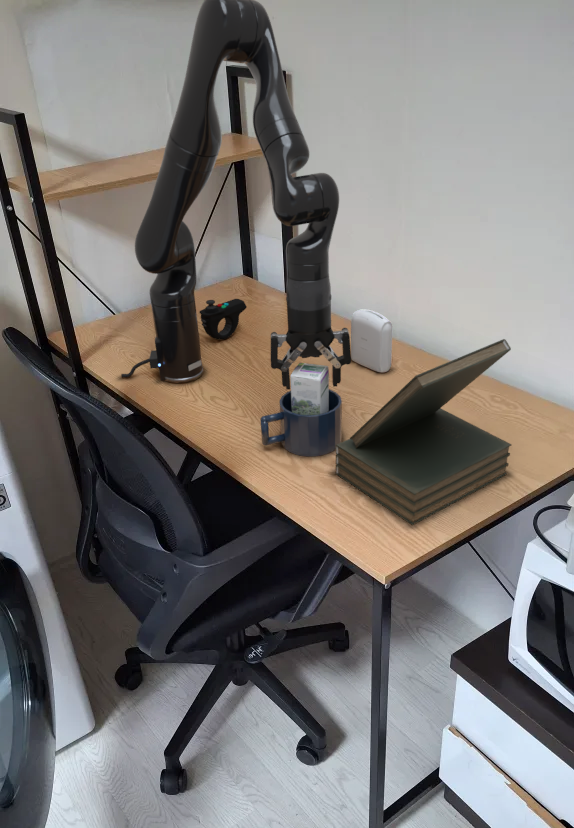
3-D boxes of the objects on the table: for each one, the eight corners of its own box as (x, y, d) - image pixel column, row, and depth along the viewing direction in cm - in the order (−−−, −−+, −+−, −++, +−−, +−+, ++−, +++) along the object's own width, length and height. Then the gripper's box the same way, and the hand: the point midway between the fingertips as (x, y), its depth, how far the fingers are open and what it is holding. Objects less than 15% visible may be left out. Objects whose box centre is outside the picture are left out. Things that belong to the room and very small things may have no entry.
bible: (427, 431, 150) (437, 306, 135) (507, 474, 137) (528, 342, 122) (335, 473, 139) (335, 343, 124) (412, 525, 126) (422, 386, 111)
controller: (199, 342, 187) (195, 302, 181) (239, 327, 193) (236, 287, 188) (210, 347, 184) (206, 307, 178) (250, 331, 191) (247, 292, 185)
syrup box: (330, 433, 150) (329, 364, 141) (321, 448, 145) (320, 378, 137) (301, 429, 151) (299, 360, 143) (292, 444, 147) (289, 374, 138)
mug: (326, 420, 154) (326, 381, 149) (351, 448, 146) (351, 407, 141) (252, 438, 150) (249, 398, 145) (273, 467, 142) (271, 426, 137)
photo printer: (347, 360, 176) (348, 308, 169) (361, 354, 178) (362, 302, 171) (380, 375, 169) (381, 321, 162) (394, 369, 171) (396, 315, 164)
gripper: (348, 290, 135) (348, 374, 145) (266, 294, 135) (271, 379, 145) (352, 306, 129) (352, 393, 139) (267, 311, 129) (272, 398, 139)
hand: (311, 386), depth 142 cm, fingers open, 8 cm apart
